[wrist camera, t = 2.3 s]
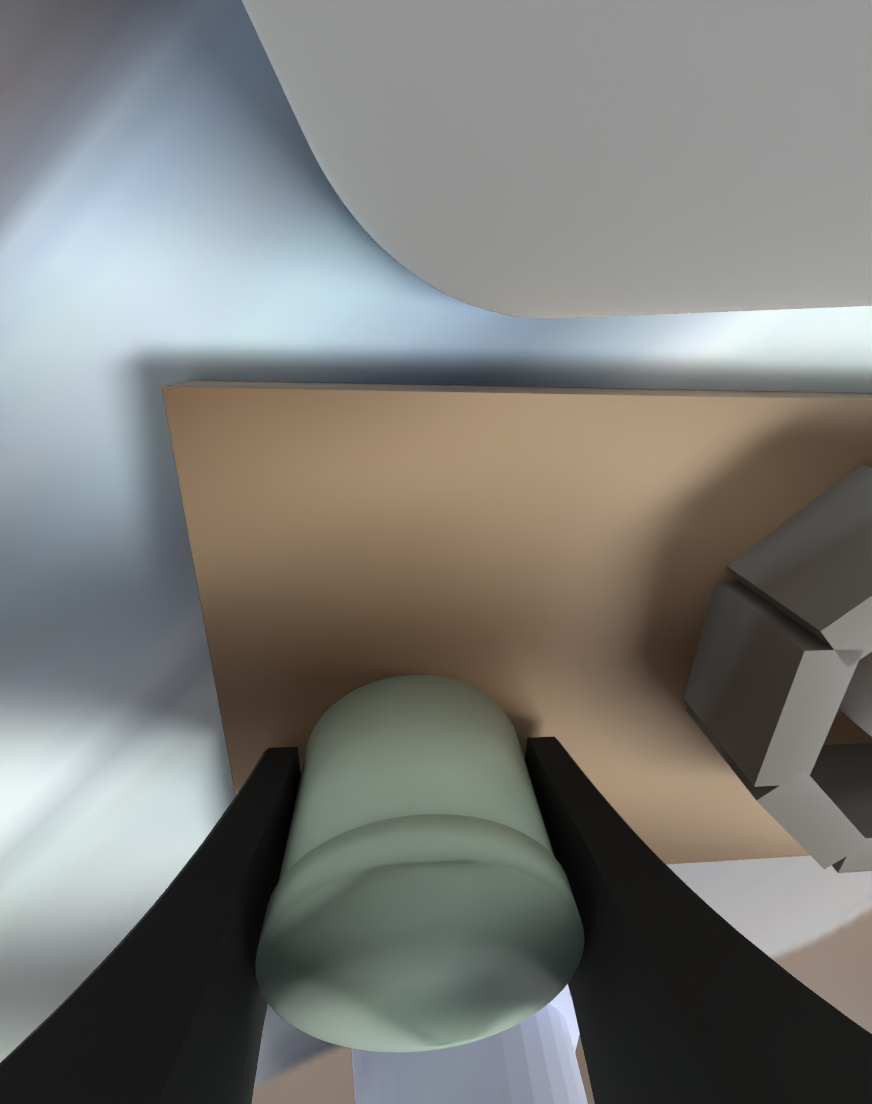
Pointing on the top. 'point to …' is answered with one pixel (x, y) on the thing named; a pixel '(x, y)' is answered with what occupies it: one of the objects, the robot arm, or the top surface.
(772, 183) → the pill bottle
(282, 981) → the cap
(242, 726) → the stud board
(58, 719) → the top surface
